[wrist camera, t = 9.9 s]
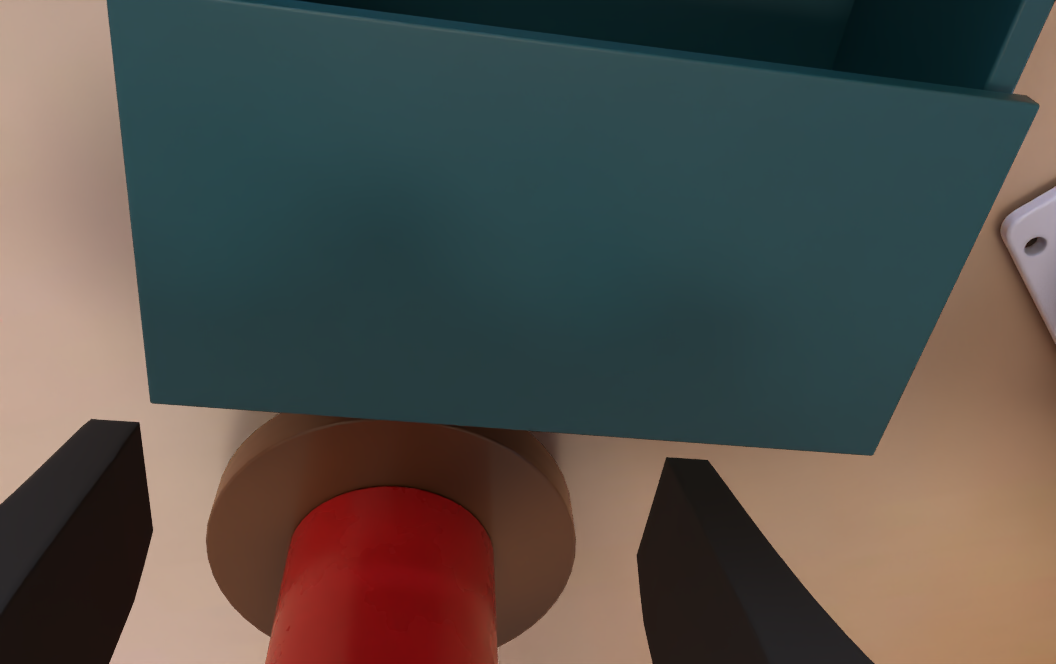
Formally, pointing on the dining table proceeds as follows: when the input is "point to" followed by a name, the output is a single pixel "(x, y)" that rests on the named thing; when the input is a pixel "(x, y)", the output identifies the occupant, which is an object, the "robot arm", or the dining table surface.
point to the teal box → (562, 206)
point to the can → (387, 583)
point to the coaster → (392, 460)
